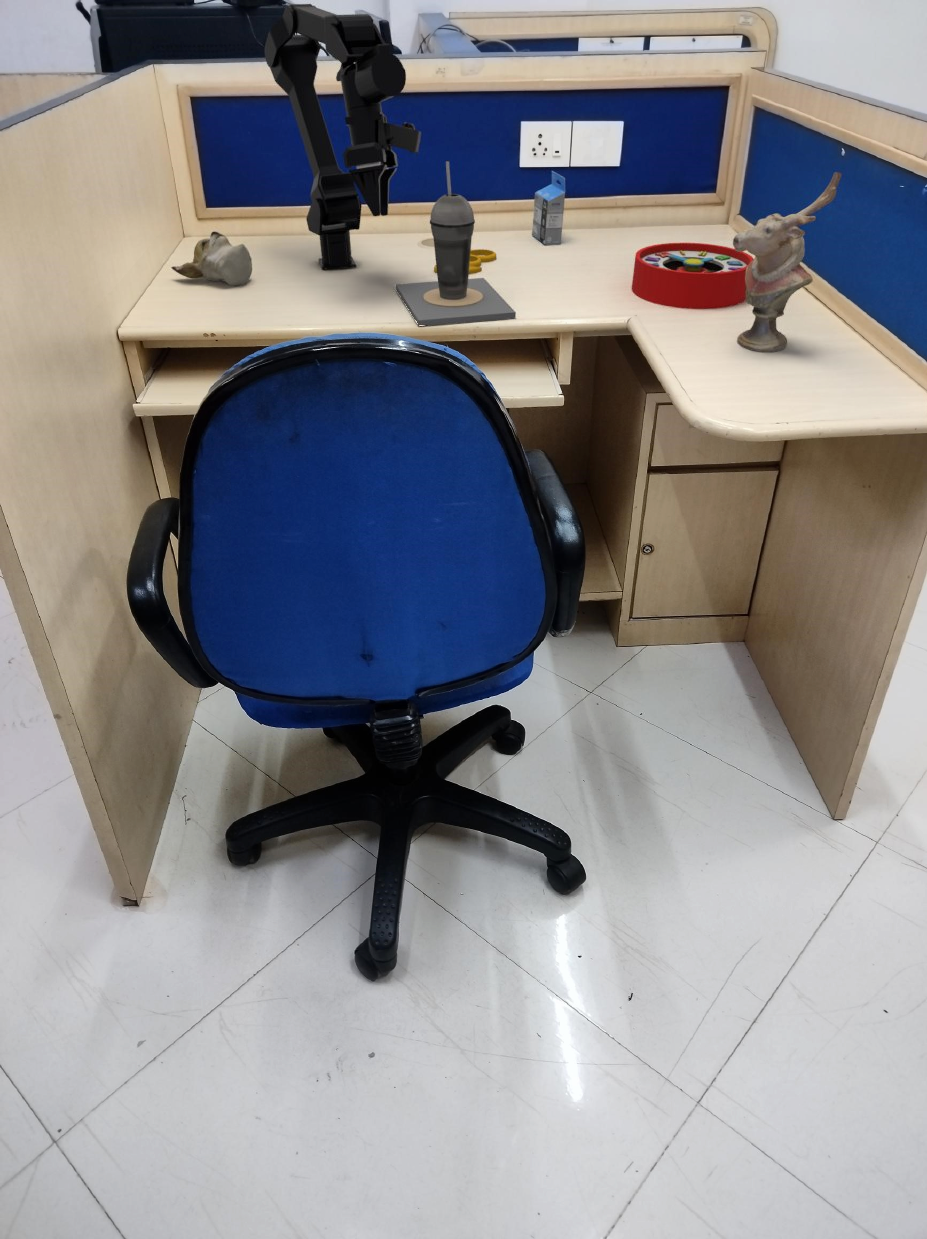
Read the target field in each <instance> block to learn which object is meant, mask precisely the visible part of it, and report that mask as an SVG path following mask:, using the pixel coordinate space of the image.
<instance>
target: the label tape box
mask: <svg viewBox="0 0 927 1239" xmlns="http://www.w3.org/2000/svg"><path fill="white" fill-rule="evenodd" d="M557 181H558V182H560V184H559V183H557ZM565 198H566V178H565V177H564V176H562V175H561V174H559V173H557V172H555V171H553V170H551V183H550V184H549V185H547V186H545V187H543V188H542V189H539V190H537V191H536V192H535V193H534V200H533V201H534V203H533V214H532V215H533V218H532V228H531V230H532V231H531V235H532V236H533V237H534V238H535V239H537V240H539V242H540V243H542V244H543V245H549V246H557V245H561V244H562V235H563V233H562V232H563V223H564V222H563V221H564V214H565V212H564V211H565V210H564V209H565Z"/></svg>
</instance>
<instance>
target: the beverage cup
mask: <svg viewBox="0 0 927 1239" xmlns="http://www.w3.org/2000/svg"><path fill="white" fill-rule="evenodd" d="M445 168H446V170H445V172H446V183H447V194H444V195H442V196H441V197H439V198H438V199H437V200H436V201H435V203H434V204H433V206H432V209H431V212H430V220H429V224H430V228H431V235H432V237H433V246H434V255H435V265H436V267H437V275H436V276H437V281H438V286H439V292H440V297H441V298H443V299H447V300H459V299H463V298H465V297H466V296H467V287H468V279H469V275H470V274H469V264H470V252H471V250H472V249H471V248H472V239H473V235H474V234H473V233H474V229H475V224H476V221H475V215H474V211H473V208H472V206H471V204H470V202H469V201H468V200H467V199H466V198H465V197H464V196H462V195H460V194H458V193H452V186H451V172H450V160H449V161H445Z"/></svg>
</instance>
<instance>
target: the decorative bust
mask: <svg viewBox="0 0 927 1239" xmlns="http://www.w3.org/2000/svg"><path fill="white" fill-rule="evenodd" d="M842 174H843V173H841V172H837V171H835V172H834V173H833V176H832V178H831V180H830V182H829V184H828V185H827V187H826V188H825V189H824V191H823V192H822V193H821V194H820V195H819V197H817V198H816V200H814V202H812V203H811V204H810V205H808V206H807V207H805V208H804V209H802V210H800V211H799V212H797V213H792V214H788V215H787V216H782V215H781V214H780V213H773V214H769V215H767V216H766V217H765V218H760V219H759V220H757V222H756V225H754V226H751V227H749V228H748V229H745V230H742V231H739V232H738V233H736V235H734V238H733V239H732V245H733V247H734V248H733V249H735V250H736V251H737V252H742V251H743V252H745V251H747V252H748V253H749V254H751V255H753V256H755V257H754V258H753V259H754V261H752V262H751V263H750V264H749V265H748V267H747V269H746V277H745V281H746V282H745V283H746V300H745V301H746V303H747V304H749V305H750V306H752V307H753V309H752V312H751V313H752V314H753V315H754V316H755V317H754V321H753V324H752V326H751V328H749V329H747V330H745V331H743V332H742V333H740V334H738V336H737V338H736V339H737V340H736V342H737V344H738V345H739V346H741V347H743V348H744V349H748V350H751V351H753V352H760V353H772V352H773V353H774V352H778V351H779V352H780V351H783V350H784V349H786V347H787V346H788V339H787V337H786V335H785V334H783V332H781V331H779V330H778V328H777V319H778V318H779V317H780V318H781V317H782V316H784V315H785V312H784V311H785V309H786V306H787V303H788V301H789V299H790V298H791V296H792V295H794V294H795V293H796V292H797V291H799V290H800V289H802V288H804V287H806V286H809V285H810V284H812V282H813V277H812V275H811V273H809V272H808V271H807V270H806V269H805V268H804V267H803V266H802V265H801V262H802V260H803V258H804V256H805V252H806V248H805V239H804V236H805V234H806V233H805V230H803V229H800V228H799V227H800V226H804V225H805V224H809V223H812V222H815V220H816V218H817V217H816V216H815V215H813V213H815V212H817V211H819V210H821V209H822V208H824V207H826V206H827V205H828V204H830V203H831V202H832V201H834V199H835V197H836V195H837V188H838V186H839V184H840V183H839V182H840V180H841V178H842Z"/></svg>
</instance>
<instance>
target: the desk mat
mask: <svg viewBox="0 0 927 1239" xmlns="http://www.w3.org/2000/svg"><path fill="white" fill-rule="evenodd" d="M396 290H397V291H396ZM395 291H396V293H397V292H398V293H397V294H398V296H399V295H400V296H401V298H400V300H401V301H402V300H403V301H404V302H403V301H402V302H403V304H404V303H405V304H406V306H407V307H406V306H405V307H406V309H407V308H408V309H409V310H408V309H407V310H408V312H409V311H410V312H411V314H412V315H411V314H410V315H411V317H412V316H413V317H414V319H415V320H416V321H417V323H418V325H431V326H430V327H433V326H434V327H435V326H443V325H445V326H446V325H455V324H469V323H479V322H489V321H502V320H514V319H516V317H517V316H516V314H517V312H516V311H515V310H514V308H512V307H511V306H510V304H508V302H507V301H506V300H505V299H504V298H503V296H501V295H500V293H498V291H496V289H495V288H493V286H492V285H491V284H490V283H489V282H488V281H487V279H485V278H484V277H478V278H475V277H474V278H468V287H467V296H466V297H465V298H463V299H459V300H447V299H443V298H441V297H440V292H439V286H438V280H437V281H436V280H435V281H425V282H412V283H411V282H410V283H398V284H397V283H396V284H395ZM400 296H399V297H400ZM405 304H404V305H405ZM410 312H409V313H410ZM413 317H412V318H413ZM414 319H413V320H414ZM415 320H414V321H415ZM417 323H416V324H417ZM418 325H417V326H418ZM432 325H433V326H432Z"/></svg>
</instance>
